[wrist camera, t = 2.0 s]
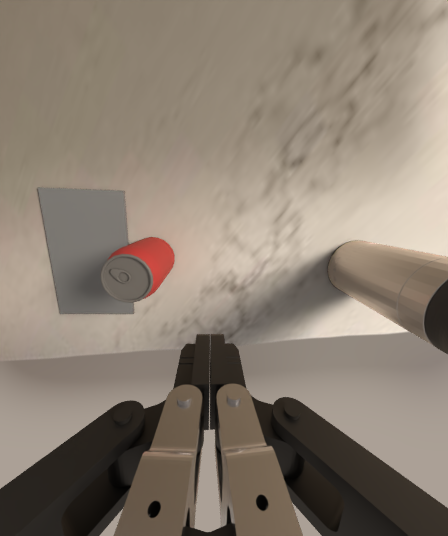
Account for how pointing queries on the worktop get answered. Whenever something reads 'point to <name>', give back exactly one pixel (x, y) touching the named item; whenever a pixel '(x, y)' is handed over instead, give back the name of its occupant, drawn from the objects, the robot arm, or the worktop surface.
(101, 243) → the slate mat
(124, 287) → the beer can
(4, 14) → the worktop surface
